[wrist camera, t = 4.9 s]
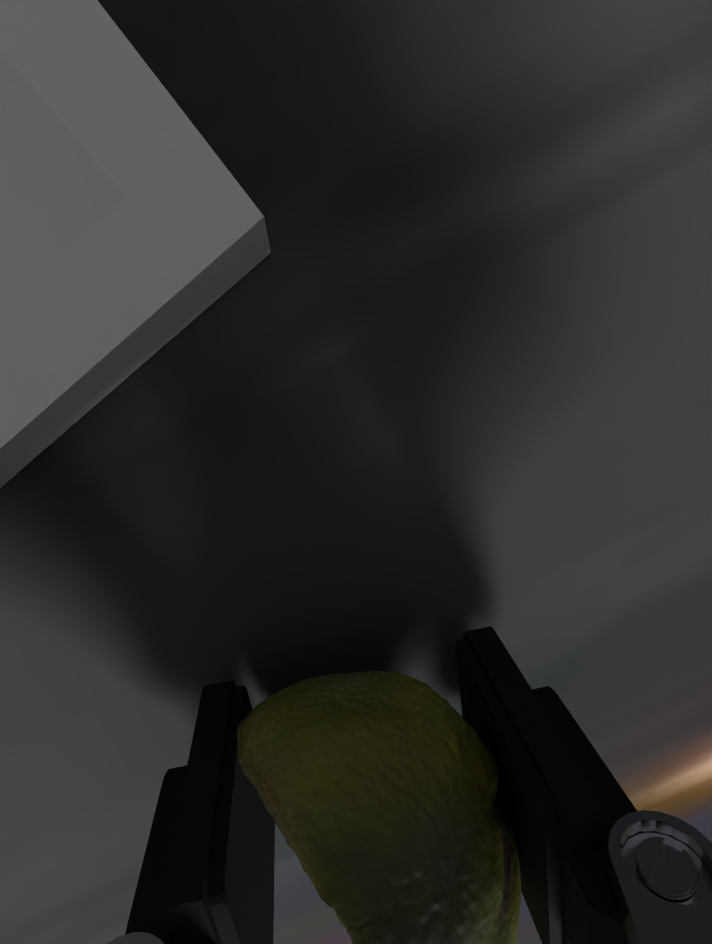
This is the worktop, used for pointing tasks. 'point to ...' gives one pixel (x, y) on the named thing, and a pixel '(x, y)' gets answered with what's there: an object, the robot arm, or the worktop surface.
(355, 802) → the lime
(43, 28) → the bin
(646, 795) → the worktop surface
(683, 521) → the worktop surface
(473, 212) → the worktop surface
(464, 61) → the worktop surface
